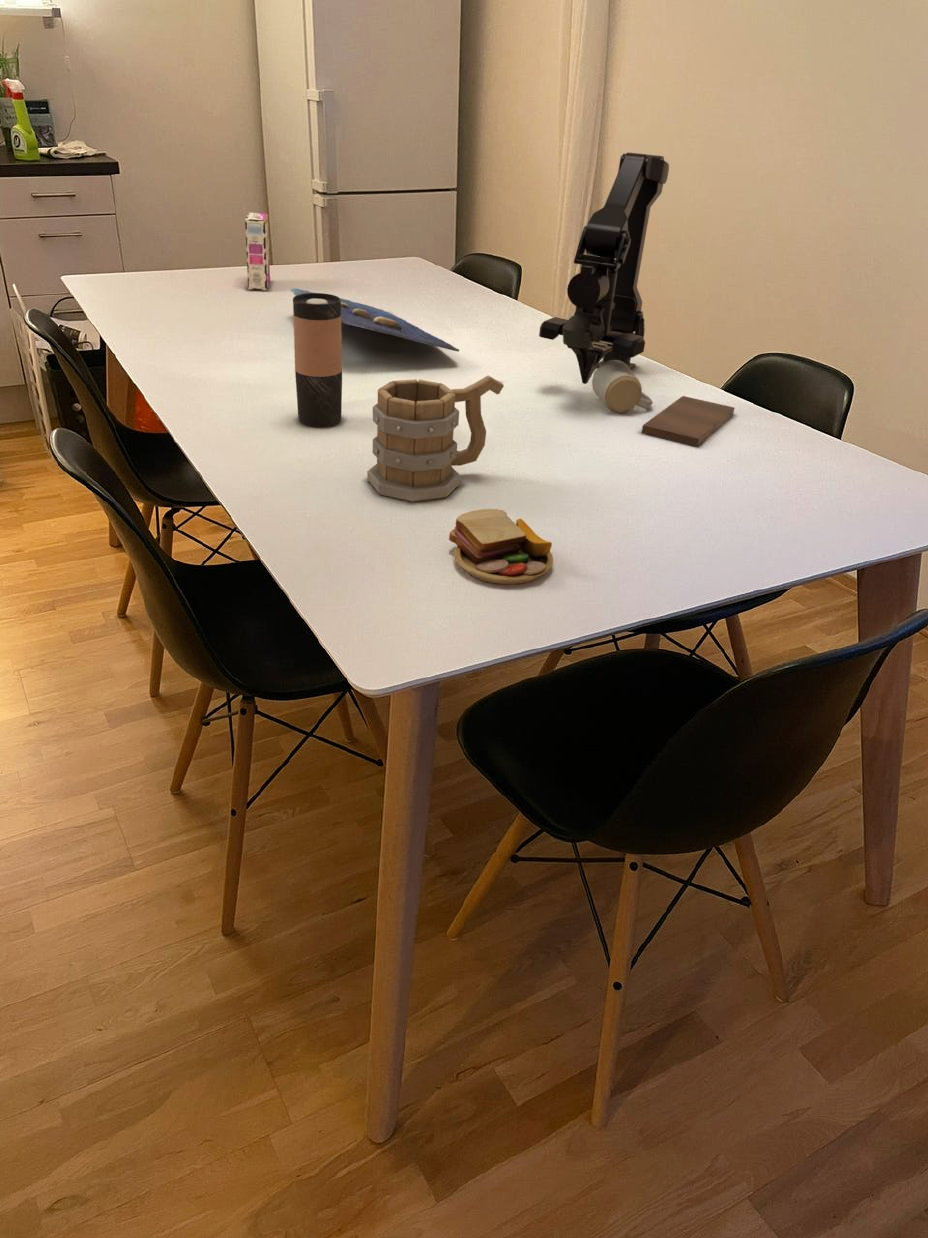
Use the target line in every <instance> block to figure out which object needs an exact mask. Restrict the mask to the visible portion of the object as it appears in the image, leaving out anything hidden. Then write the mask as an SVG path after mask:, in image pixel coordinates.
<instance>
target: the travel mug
mask: <svg viewBox="0 0 928 1238" xmlns="http://www.w3.org/2000/svg"><path fill="white" fill-rule="evenodd" d="M340 298H341V297H339V296H338V295H335V294H329V293H322V292H313V293H305V294H300V295H296V296H295V295H294V296H293V297H292V311H293V312H292V313H293V344H294V345H293V346H294V349H293V350H294V374H295V375H294V377H295V389H296V390H295V391H296V403H297V416H298V417H297V418H298V422H299V423H300V424H301V425H304V426H306V427H309V428H319V429H320V428H331V427H335V426H337V425H339V424H340V423H341V422H342V402H343V401H342V400H343V399H342V398H343V343H342V341H343V340H342V339H343V337H342V336H343V335H342V321H341V300H340Z"/></svg>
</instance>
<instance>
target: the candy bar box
mask: <svg viewBox="0 0 928 1238" xmlns="http://www.w3.org/2000/svg"><path fill="white" fill-rule="evenodd" d="M244 227H245V228H244V229H245V243H246V244H245V247H246V248H245V249H246V266H247V267H246V268H247V269H246V271H247V290H248V291H257V292H259V291H262V292H267V291H268V289H269V286H270V282H271V269H270V268H271V265H270V242H269V241H270V239H269V235H270V234H269V214H268V213H263V212H248V214H247V215H246V216H245V219H244Z"/></svg>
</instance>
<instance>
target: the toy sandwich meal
mask: <svg viewBox="0 0 928 1238" xmlns="http://www.w3.org/2000/svg"><path fill="white" fill-rule="evenodd" d="M448 535H449V536H448V540H449V541H450V542H451V543H453V544H455V545H456V546H455V548H454V551H453V554H454V559H455V561H456V563H457V564H458V565H459V566H460V567H461V568H462V569H463V570H464V572H466V573H468V574H469V575H471V576H472V577H474V578H476V579H478V580H480V581H483V582H488V583H493V584H497V585H498V584H500V585H518V584H519V585H520V584H524V583H529V582H532V581H535V580H536V579H538V578H540V577H541V576H543V575H544V574H546V573H547V572H548V571H549V570H550V569H551V568H552V566H553V564H554V556H553V553H552V552H551V549H552V546H553V543H552V542H551V541H548V540H545V539H544V538H541V537H540V536H539V535H538V534H536V532H535V531H534V530H533V529H532V528H531V527H530V526H529V524H527V522H525V521H524V520H523V519H522V518H517V519H516V521H515V522H514V521H513V520H512V519H511V518H510V517H509V516H508V515H507V512H506V511H505V510H503V509H498V508H484V509H476V510H471V511H467V512H465V513H462V514H459V516H457V518H456V520H455V525H454V528H453V529H451V531H450V532H449V534H448Z"/></svg>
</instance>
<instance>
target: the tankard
mask: <svg viewBox="0 0 928 1238" xmlns="http://www.w3.org/2000/svg"><path fill="white" fill-rule="evenodd" d="M504 387H505V385H504V383H502V382H501V381H499V380H497V379H495V378H494V377H492V376H490V375H486V376H484V377H483V378H481V379H478V381H476V382H474V383H473V384H470V385H468V386H466V387H464V388H452V389H451V388H449V387H448V386H447V385H446V384H443V383H442V382H436V381H431V380H424V379H416V378H415V379H414V378H413V379H402V380H400V379H399V380H392V381H389V382H387V383H386V384H384V385H383V386H381V387H379V388H378V389H377V403H376V404H374V405H373V406H372V422H373V423H374V424H375V425H376V427H377V428H376V430H377V431H376V432H377V433H376V436H375V437H374V438H372V455H374V456H375V458H376V464H374V465H373V466H372V467H371V468H369V469H368V470H367V471H366V472H367V475H366V476H367V478H366V479H367V481H368V482H369V483H370V484H371V486H372V487H373V488H374V489H375V490H376V492H377V494H379V495H380V496H384V497H390V498H393V499H398V500H403V501H406V502H411V503H415V502H422V501H430V500H437V499H446V498H447V497H448V496H449V495H450V494H452V492H453V491H454V490H455V489H456V488H458V486H460V484H461V477H462V476H461V474H460V473H459V472H458V471H457V470H456V469H455V468H454V467H456V466H457V467H458V466H464V465H468V464H470V463H473V462H474V463H475V462H477V460H478V458H479V456H480V455H481V453H482V451H483V450H484V448H485V446H486V437H487V430H486V429H487V428H486V426H485V423H484V420H483V416H482V398H481V397H482V396H484V395H486V393H488V392H489V391H490V392H492V393H493V394H496V395H500V393H501V392H502V390H503V388H504ZM460 402H465V403H464V405H465V407H464V408H465V418H466V421H467V425H468V428H469V431H470V440H469V444H468V445H467V447H466V448H464V449H462V450H458V443H457V442H456V441H455V440H454V429H455V428H457V427H458V426H459V424H460V423H459V422H460V410H459V409H457V407H456V403H460ZM453 466H454V467H453Z"/></svg>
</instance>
